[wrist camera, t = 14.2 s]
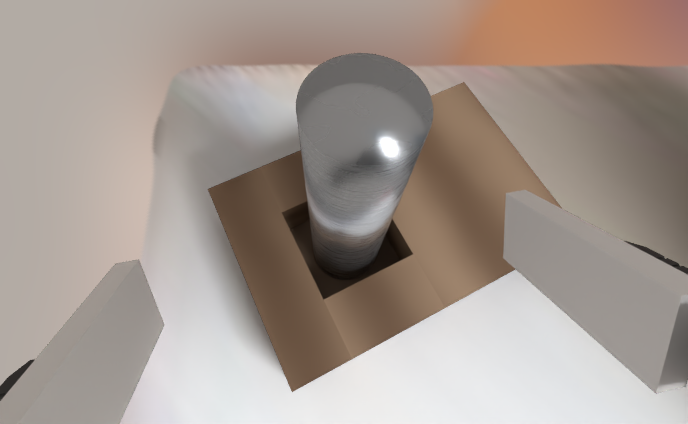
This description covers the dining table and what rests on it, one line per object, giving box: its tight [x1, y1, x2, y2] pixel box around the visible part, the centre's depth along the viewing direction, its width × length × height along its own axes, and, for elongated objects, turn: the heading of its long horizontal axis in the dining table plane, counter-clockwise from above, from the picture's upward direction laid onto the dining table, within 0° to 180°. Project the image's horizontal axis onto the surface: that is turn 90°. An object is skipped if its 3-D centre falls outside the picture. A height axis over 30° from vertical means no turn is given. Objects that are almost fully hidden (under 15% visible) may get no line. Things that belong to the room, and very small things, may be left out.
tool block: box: [208, 82, 562, 392], centre depth 24 cm, size 18×12×4 cm, turn 117°
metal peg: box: [296, 53, 433, 280], centre depth 17 cm, size 4×4×14 cm
